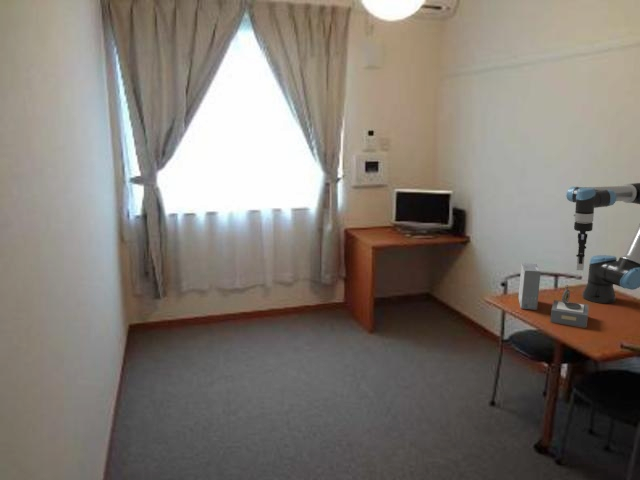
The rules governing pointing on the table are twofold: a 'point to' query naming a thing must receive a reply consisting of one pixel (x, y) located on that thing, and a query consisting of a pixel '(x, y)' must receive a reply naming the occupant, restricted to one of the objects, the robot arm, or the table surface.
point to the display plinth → (569, 314)
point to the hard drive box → (529, 286)
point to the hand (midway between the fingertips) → (580, 266)
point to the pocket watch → (566, 298)
